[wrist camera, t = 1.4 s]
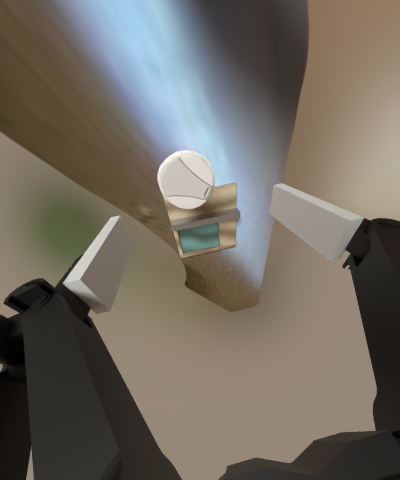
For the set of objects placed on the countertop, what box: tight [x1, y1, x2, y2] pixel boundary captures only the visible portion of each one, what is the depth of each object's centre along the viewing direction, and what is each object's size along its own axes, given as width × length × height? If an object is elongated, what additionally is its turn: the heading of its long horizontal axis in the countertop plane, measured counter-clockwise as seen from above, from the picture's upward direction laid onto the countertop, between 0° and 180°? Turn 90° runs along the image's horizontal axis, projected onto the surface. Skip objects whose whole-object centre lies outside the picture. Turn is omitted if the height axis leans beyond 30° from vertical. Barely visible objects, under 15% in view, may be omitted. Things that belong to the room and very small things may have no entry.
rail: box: [170, 208, 240, 231], centre depth 38 cm, size 2×18×3 cm, turn 98°
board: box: [164, 183, 236, 258], centre depth 42 cm, size 20×18×1 cm
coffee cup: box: [158, 150, 215, 209], centre depth 27 cm, size 8×8×15 cm
